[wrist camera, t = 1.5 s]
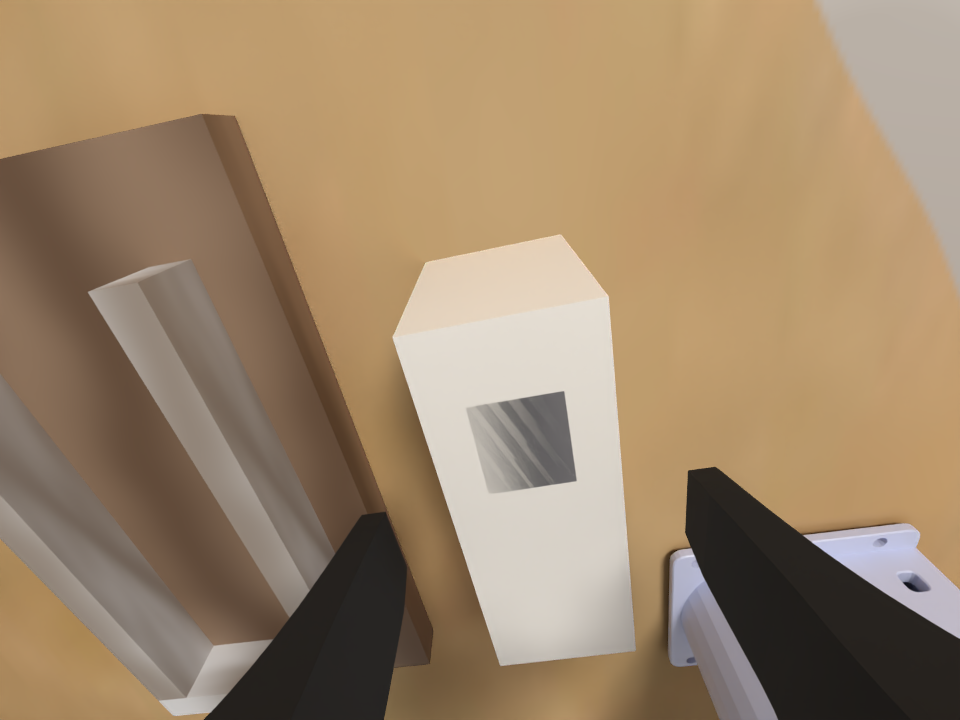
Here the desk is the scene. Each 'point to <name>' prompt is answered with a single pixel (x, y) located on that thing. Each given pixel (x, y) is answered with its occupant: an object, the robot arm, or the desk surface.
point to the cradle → (170, 407)
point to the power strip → (526, 442)
